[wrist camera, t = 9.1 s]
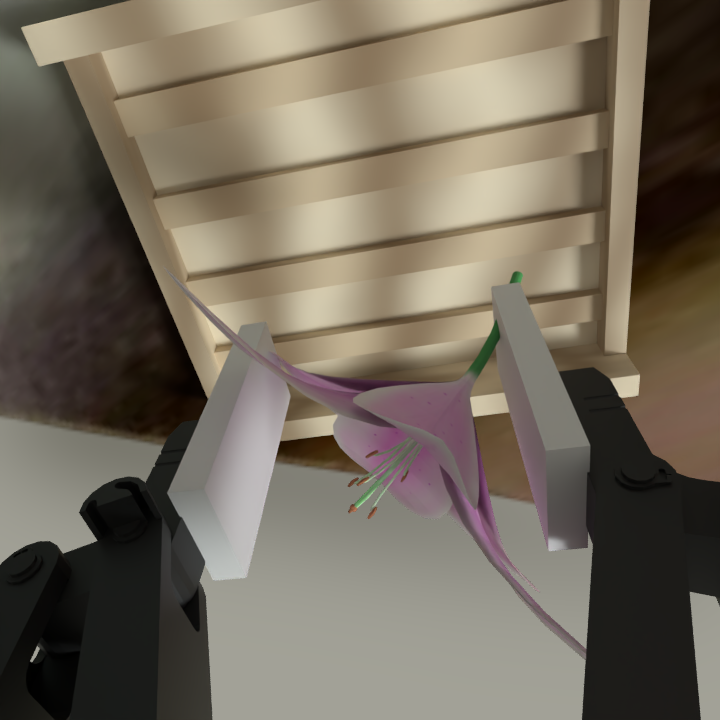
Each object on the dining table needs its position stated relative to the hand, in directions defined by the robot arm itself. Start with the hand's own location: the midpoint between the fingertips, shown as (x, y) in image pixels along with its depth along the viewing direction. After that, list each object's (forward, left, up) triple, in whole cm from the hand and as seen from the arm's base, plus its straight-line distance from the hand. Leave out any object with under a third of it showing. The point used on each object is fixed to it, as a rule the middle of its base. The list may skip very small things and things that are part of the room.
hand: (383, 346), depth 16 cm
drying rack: (0, 0, -12) cm, 12 cm away
